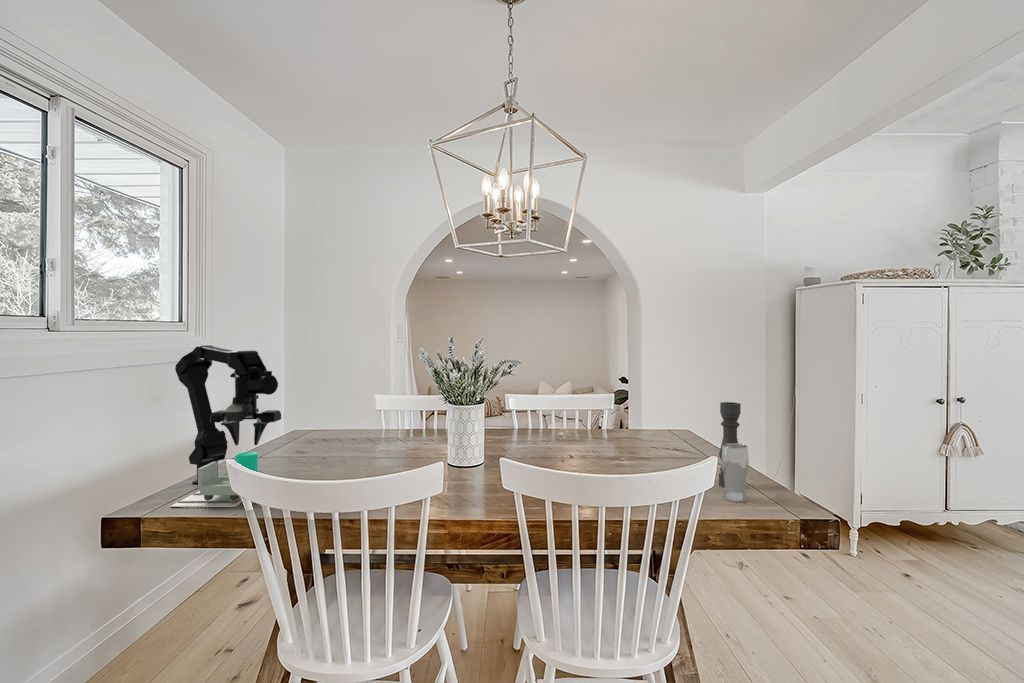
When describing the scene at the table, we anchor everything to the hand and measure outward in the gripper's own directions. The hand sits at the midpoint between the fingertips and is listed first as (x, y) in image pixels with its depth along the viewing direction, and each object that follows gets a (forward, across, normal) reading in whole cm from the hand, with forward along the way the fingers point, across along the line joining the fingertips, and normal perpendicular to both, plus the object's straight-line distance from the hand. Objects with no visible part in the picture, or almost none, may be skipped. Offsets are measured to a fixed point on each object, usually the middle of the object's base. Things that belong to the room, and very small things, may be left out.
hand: (246, 445), depth 162 cm
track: (+13, -4, -11) cm, 17 cm away
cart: (+12, 0, -11) cm, 16 cm away
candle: (+13, 0, 0) cm, 13 cm away
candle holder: (+13, +145, +1) cm, 146 cm away
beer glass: (+13, +141, -12) cm, 142 cm away
